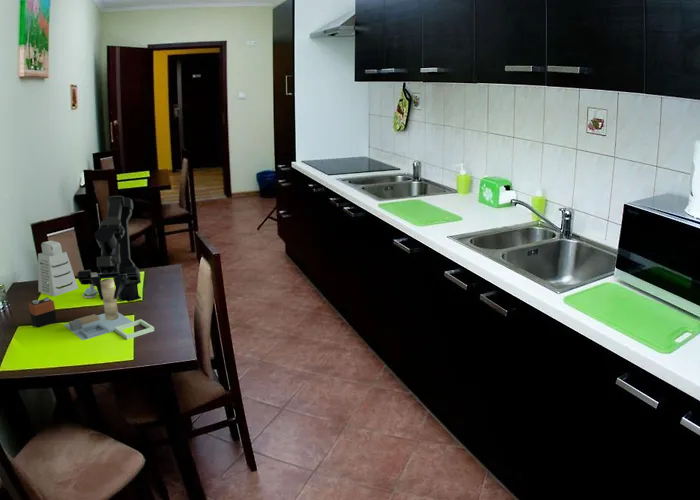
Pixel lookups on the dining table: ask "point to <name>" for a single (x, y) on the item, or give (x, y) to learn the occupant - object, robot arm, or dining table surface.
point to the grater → (55, 270)
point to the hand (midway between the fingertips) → (108, 299)
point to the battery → (42, 312)
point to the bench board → (95, 325)
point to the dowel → (109, 299)
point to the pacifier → (90, 292)
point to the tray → (135, 334)
